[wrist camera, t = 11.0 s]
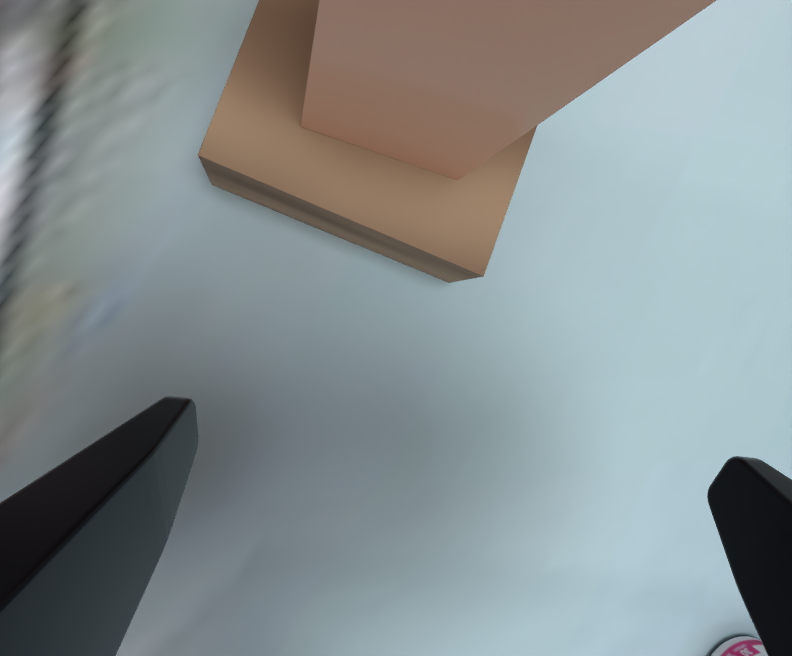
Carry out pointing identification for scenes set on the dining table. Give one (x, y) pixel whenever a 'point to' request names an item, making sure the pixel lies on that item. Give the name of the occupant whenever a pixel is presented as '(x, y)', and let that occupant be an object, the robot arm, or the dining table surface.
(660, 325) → the dining table surface
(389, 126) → the tall peach box
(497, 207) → the brown flat block
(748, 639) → the pill bottle
